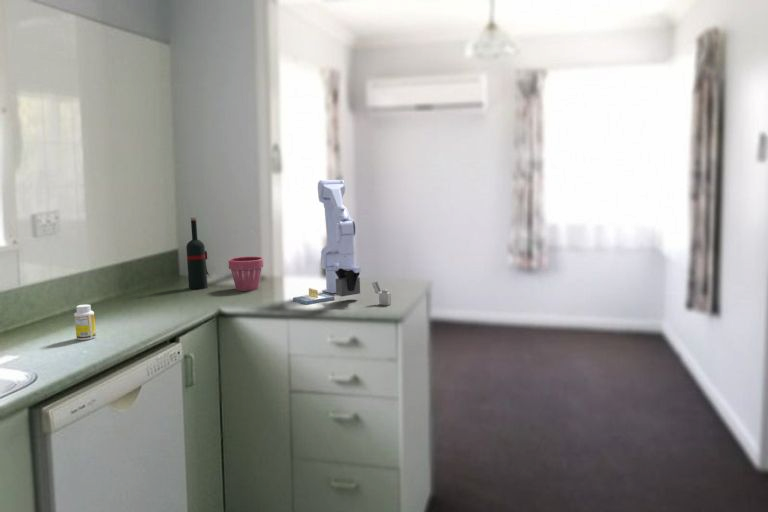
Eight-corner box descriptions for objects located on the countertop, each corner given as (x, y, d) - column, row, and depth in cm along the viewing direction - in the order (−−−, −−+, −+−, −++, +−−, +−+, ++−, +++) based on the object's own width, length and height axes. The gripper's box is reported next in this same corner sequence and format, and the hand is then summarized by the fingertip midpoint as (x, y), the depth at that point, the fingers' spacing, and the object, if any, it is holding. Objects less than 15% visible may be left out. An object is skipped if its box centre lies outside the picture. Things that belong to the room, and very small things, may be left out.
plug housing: (336, 295, 260) (335, 278, 260) (354, 292, 265) (353, 276, 264) (342, 296, 257) (341, 280, 256) (360, 293, 262) (359, 277, 261)
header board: (320, 296, 272) (320, 285, 271) (334, 299, 264) (333, 288, 263) (293, 300, 265) (292, 289, 264) (306, 304, 257) (305, 292, 256)
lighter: (391, 304, 252) (390, 282, 251) (388, 305, 250) (387, 283, 249) (375, 302, 256) (374, 280, 255) (372, 303, 254) (371, 281, 253)
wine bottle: (215, 285, 304) (210, 216, 300) (199, 290, 295) (193, 218, 291) (201, 285, 308) (196, 216, 304) (184, 289, 299) (179, 218, 295)
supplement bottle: (90, 335, 220) (87, 303, 219) (99, 337, 217) (96, 305, 215) (73, 339, 216) (70, 306, 215) (82, 341, 212) (79, 308, 211)
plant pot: (270, 289, 292) (268, 258, 290) (238, 293, 284) (236, 262, 282) (256, 284, 304) (254, 255, 302) (225, 288, 296) (223, 258, 294)
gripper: (326, 252, 263) (328, 288, 264) (348, 256, 251) (349, 294, 253) (342, 250, 267) (344, 286, 268) (364, 254, 255) (366, 291, 257)
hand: (348, 289), depth 261 cm, fingers closed on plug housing, 4 cm apart
